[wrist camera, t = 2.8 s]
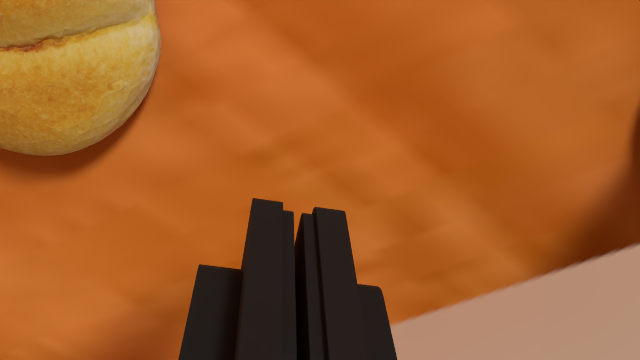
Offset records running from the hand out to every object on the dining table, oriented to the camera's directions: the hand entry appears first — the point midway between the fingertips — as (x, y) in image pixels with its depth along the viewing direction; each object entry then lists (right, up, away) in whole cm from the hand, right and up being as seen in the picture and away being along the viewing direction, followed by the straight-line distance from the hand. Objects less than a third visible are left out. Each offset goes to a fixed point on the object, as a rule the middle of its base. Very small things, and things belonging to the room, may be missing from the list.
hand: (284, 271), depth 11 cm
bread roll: (-9, +8, +10) cm, 16 cm away
